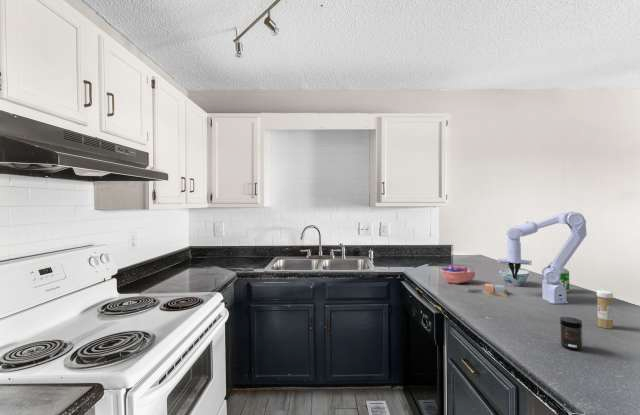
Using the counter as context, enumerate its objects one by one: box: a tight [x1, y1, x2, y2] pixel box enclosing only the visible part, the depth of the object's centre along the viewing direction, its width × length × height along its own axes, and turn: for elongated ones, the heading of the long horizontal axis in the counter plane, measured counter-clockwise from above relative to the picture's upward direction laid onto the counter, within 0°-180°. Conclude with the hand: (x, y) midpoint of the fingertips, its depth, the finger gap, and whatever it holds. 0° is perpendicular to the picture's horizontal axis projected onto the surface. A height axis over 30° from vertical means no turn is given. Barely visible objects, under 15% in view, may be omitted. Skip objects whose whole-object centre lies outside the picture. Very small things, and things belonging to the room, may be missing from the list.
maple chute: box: [467, 287, 509, 298], centre depth 167 cm, size 20×14×2 cm
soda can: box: [559, 267, 571, 294], centre depth 167 cm, size 8×8×12 cm
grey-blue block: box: [494, 284, 505, 293], centre depth 164 cm, size 4×5×4 cm
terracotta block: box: [484, 283, 495, 292], centre depth 166 cm, size 4×5×4 cm
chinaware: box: [498, 268, 530, 287], centre depth 184 cm, size 15×15×8 cm
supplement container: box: [559, 316, 584, 352], centre depth 104 cm, size 6×6×9 cm
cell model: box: [439, 264, 476, 285], centre depth 190 cm, size 17×20×11 cm
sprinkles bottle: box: [596, 289, 614, 330], centre depth 120 cm, size 5×5×13 cm
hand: (514, 278), depth 160 cm, fingers closed
